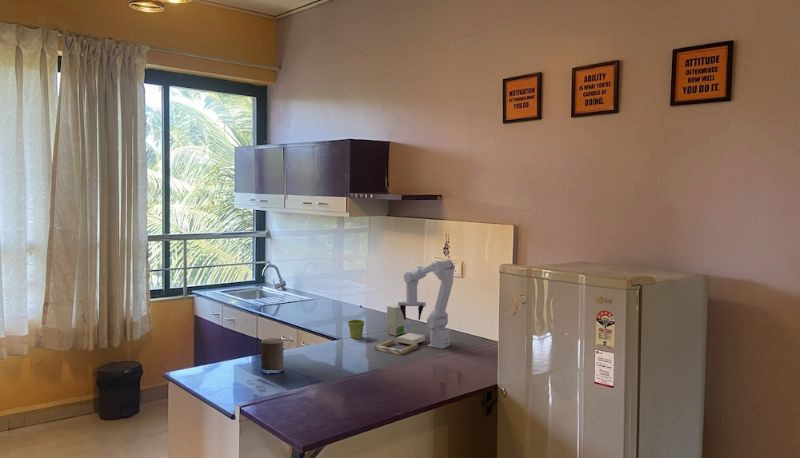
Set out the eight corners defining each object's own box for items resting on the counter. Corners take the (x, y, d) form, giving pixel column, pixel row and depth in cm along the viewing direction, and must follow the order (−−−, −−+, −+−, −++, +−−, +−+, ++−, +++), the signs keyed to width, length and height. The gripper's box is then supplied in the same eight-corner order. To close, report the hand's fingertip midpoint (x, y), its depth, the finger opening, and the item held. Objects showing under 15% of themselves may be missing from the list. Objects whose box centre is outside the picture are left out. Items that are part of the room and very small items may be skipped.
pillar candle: (261, 375, 255) (261, 341, 254) (260, 368, 265) (260, 335, 263) (284, 373, 258) (284, 339, 257) (282, 366, 267) (282, 334, 266)
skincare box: (395, 336, 319) (395, 308, 317) (386, 333, 323) (386, 306, 321) (404, 332, 326) (405, 305, 324) (395, 330, 330) (395, 303, 328)
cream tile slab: (425, 342, 307) (425, 335, 306) (413, 346, 298) (413, 340, 297) (409, 339, 312) (409, 332, 312) (397, 343, 304) (397, 337, 303)
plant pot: (366, 335, 322) (366, 319, 321) (363, 339, 312) (363, 323, 312) (349, 335, 323) (349, 319, 322) (346, 339, 313) (345, 323, 313)
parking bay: (417, 347, 296) (417, 344, 295) (400, 354, 284) (400, 350, 284) (392, 343, 305) (391, 339, 305) (374, 349, 293) (374, 345, 293)
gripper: (426, 293, 315) (426, 318, 316) (399, 292, 318) (399, 317, 318) (424, 295, 308) (425, 321, 309) (397, 295, 311) (397, 320, 312)
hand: (412, 319), depth 313 cm, fingers open, 7 cm apart
